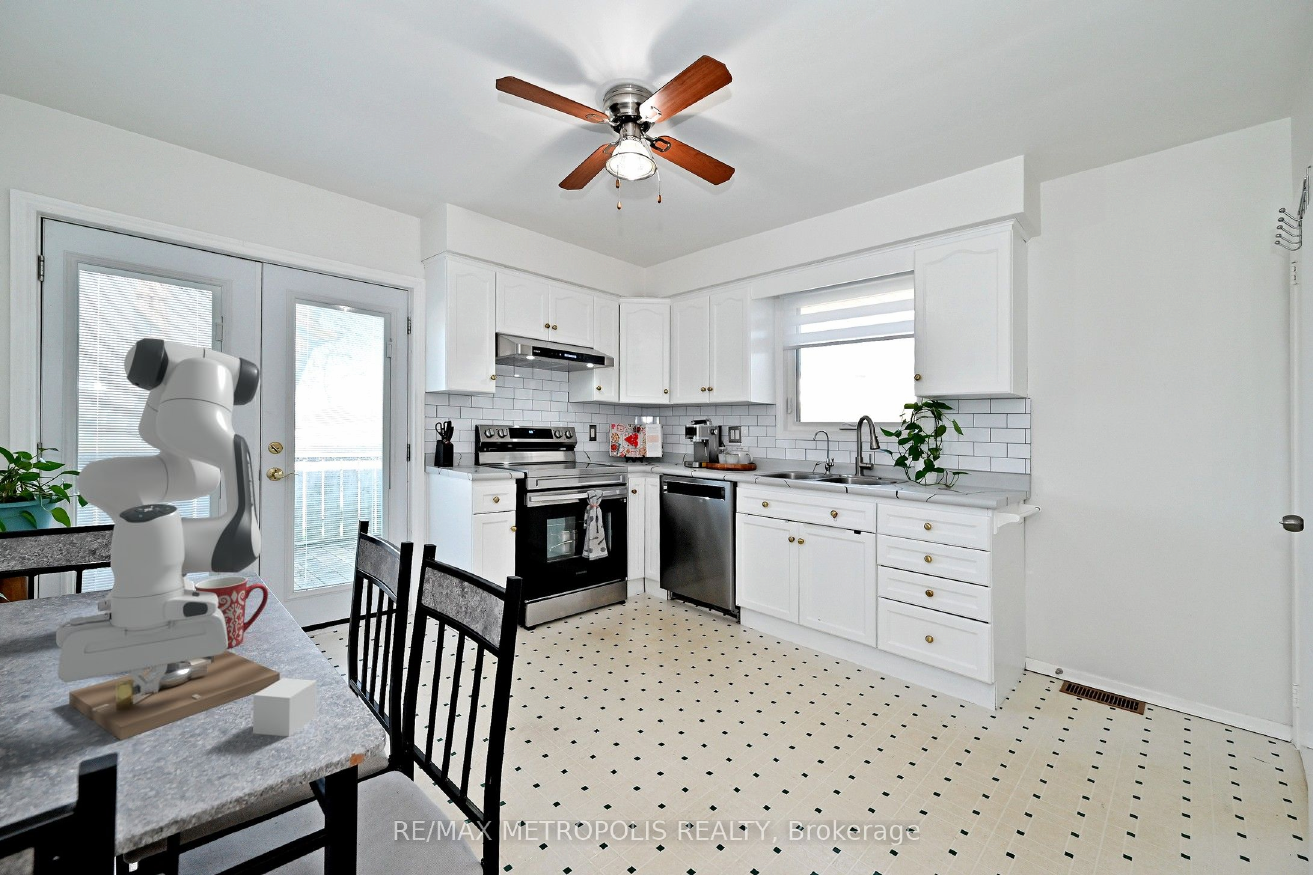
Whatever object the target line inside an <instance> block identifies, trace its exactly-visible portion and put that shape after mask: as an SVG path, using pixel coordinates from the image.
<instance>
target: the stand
mask: <svg viewBox="0 0 1313 875" xmlns="http://www.w3.org/2000/svg"><path fill="white" fill-rule="evenodd" d="M179 663H188V664H191V665H192V669H193V668H199V667H204V666H207V675H202V676H197V677H191V678H190V679H189V680H188V681H186V682H183V683H181V684H178V685H175V686H171V687H165V688H160V689H159V690H158V692H157V693H152V694H150V695H149V696H147V697H145V698H144V699H142V700H140V701H139V702H137V703H135V704H134V705H133V706H132V707H130V708H128V709H125V710H116V684H117V683H119V682H122V681H127V680H133V679H132V678H131V674H127V675H124V676H121V677H117V678H114V679H110V680H107V681H103V682H99V683H96V684H93V685H89V686H85V687H82V688H79V689H74V690H70V691H69V693H68V696H69V697H68V700H69V701H68V705H70V706H71V707H73V709H76V710H77V711H79V712H80V713H81V714H83V715H84V716H86V717H87V718H89V719H90V720H91V721H92V722H94V723H96V725H99V726H100V727H101V728H103V729H104V730H105V731H107V732H108V733H110V734H111V735H112V736H113V737H115V736H116V737H115V738H117V739H118V740H119V739H120V741H123V740H126V739H128V738H131V737H134V736H137V735H140V734H143V733H145V732H149V731H151V730H154V729H157V728H159V727H163V726H165V725H167V724H171V723H173V722H177V721H179V720H182V719H185V718H187V717H191V716H193V715H194V716H195V715H196V714H200V713H201V712H205V711H207V710H210V709H213V708H216V707H219V706H221V705H224V704H227V703H230V702H232V701H233V702H234V701H235V700H238V699H242V698H243V697H247V696H250V695H252V694H253V695H254V694H256V693H258V692H260V691H261V690H263V689H265V688H267V687H268V686H270V685H272V684H274V683H275V682H277V681H279V680H281V675H280V674H281V673H280V672H278V671H276V670H274V669H271V668H269V667H267V666H264V665H262V664H260V663H258V662H255V661H253V660H250V659H247V658H245V657H243V656H241V655H239V654H236V653H233V652H231V651H229V650H228V649H226V650H225V651H224V652H223V653H222V654H219V655H213V656H208V657H202V658H197V659H191V660H186V661H181V662H179ZM150 669H151V668H149V669H144V672H143V674H142V675H143V676H145V675H146V674H147V673H148V672H149V671H150ZM133 682H134V680H133Z"/></svg>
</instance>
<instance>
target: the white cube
mask: <svg viewBox="0 0 1313 875" xmlns="http://www.w3.org/2000/svg"><path fill="white" fill-rule="evenodd" d="M252 700H253V705H252V706H253V710H252V711H253V712H252V714H253V717H252V721H253V722H252V734H257V735H269V736H280V737H291V736H292V735H293V734H295V733H296V732H297V731H299V730H301V728H304V727H305V726H306V725H307V724H309V723H310V722H311V721H313V720H314V719H315V718H317V717H318V680H314V679H301V678H288V677H287V678H286V677H284V678H283V677H282V678H280V680H279V681H277V682H275V683H274V684H272V685H270V686H268V687H267V688H265V689H263V690H261V691H258V692H255V693H253V699H252Z"/></svg>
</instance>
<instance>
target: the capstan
mask: <svg viewBox="0 0 1313 875" xmlns="http://www.w3.org/2000/svg"><path fill="white" fill-rule="evenodd" d="M149 669H150V671H149V672H148V673H147V674H146V675H145V676H144V677H145V678H146V680H152V679H154V677H155V676H156V674H157V673H158V672H155V667H151V668H149ZM202 675H207V666H204V667H199V668H193V669H192V665H191V664H188V663H179V662H175V663H170V664H167V671H166V672H165V673H164V675H163V676H162V678H161V679H160V681H159V689H160V688H165V687H171V686H175V685H178V684H181V683H183V682H186V681H188V680H189V679H190V678H191V677H197V676H202ZM149 695H150V694H147V695H142V696H141V686H139V685H138V684H137V683H136V682H135V681H134V682H133V680H127V681H122V682H119V683H117V684H116V710H125V709H128V708H130V707H132V706H133V705H134V704H135V703H137V702H139V701H140V700H142V699H144V698H145V697H147V696H149Z"/></svg>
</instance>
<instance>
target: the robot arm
mask: <svg viewBox="0 0 1313 875" xmlns="http://www.w3.org/2000/svg"><path fill="white" fill-rule="evenodd" d="M123 367H124V372H125V374H126V379H127V381H129V383H130V384H131V385H133V386H135V387H136V388H139V389H142V390H146V391H148V392H149V393H148V396H147V398H146V401H145V405H144V408H143V411H142V413H141V417H140V420H139V424H138V425H137V426H138V427H137V429H138V434H139V437H140V438H141V440H143V441H144V442H145V443H146V444H147V445H149V446H150V447H152V448H155V449H157V450H159V452H158V454H156V455H141V456H139V455H134V456H115V457H114V456H113V457H109V458H104V459H100V460H99V459H98V460H93V461H90V462H88V463H87V464H86V465H85V466H84V467H83V468H82V469H81V470H80V472H79V474H78V476H77V480H76V488H77V492H78V493H79V495H80V496H81V497H82V499H83V500H84V501H85V502H86V503H88V504H89V505H92V506H93V507H96V509H97V508H98V509H99V510H101V511H102V512H104V513H105V514H106V515H107V516H109V518H110V519H111V521H112V522H113V523H114V526H113V529H112V530H113V532H112V538H111V545H110V570H111V572H112V575H113V578H114V580H113V585H112V588H111V590H110V591H109V592H108V594H106V595H105V600H99V601H98V602H97V611H98V612H104V613H100V614H94V615H90V616H78V617H74V618H70V620H69V621H65V622H64V623H62V624H61V625H60V626H59V627H58V628H57V629H56V630H55V631H56V632H55V642H56V643H55V644H56V645H57V646H58V647H59V648H60V649H61V650H60V655H59V660H58V669H57V677H58V679H59V680H61V681H62V682H64V683H70V682H71V683H72V682H77V681H82V680H88V679H93V678H97V677H98V678H99V677H103V676H109V675H114V674H119V673H120V674H121V673H125V672H126V673H127V672H130V675H131V678H132V679H133V680H134V681H135V682H136V683H137V684H138V685H139V686H141V696H142V695H147V694H152V693H157V692H158V690H159V681H160V679H161V678H162V676H163V675H164V673H165V672H166V671H167V664H170V663H175V662H181V661H186V660H191V659H197V658H202V657H208V656H213V655H219V654H222V653H223V652H224V651H225V650H228V649H227V647H228V639H227V629H226V623H225V619H224V615H223V613H222V611H221V610H220V609H218V597H217V595H216V594H215V593H212V592H204V591H196V589H195V583H194V581H192V580H191V579H190V578H188V577H187V575H188V574H198V573H200V574H201V573H224V574H225V573H233V574H237V573H240V572H242V571H243V570H245V569H247V568H249V566H250V565H252V564H254V563H255V561H256V560H258V558H259V557H260V554H261V550H262V544H263V543H262V534H261V530H260V528H259V522H258V515H257V504H256V494H255V484H254V483H255V482H254V471H253V465H252V457H251V452H250V451H251V450H250V448H249V447H250V446H249V445H248V443H247V440H246V439H245V437H244V436H243V435H240V434H237V433H236V431H235V430H234V427H233V423H232V420H233V412H234V411H233V410H234V406H245V405H247V404H248V403H251V402H252V401H253V399H254V398H255V397H256V395H257V394H258V392H259V390H260V387H261V374H260V369H259V368H258V366H257V364H256V363H254V362H252V361H250V360H248V359H245V358H243V357H236V356H232V355H230V354H227V353H224V352H221V351H218V350H214V349H210V348H207V347H198V346H195V345H190V344H185V343H179V342H178V343H177V342H171V341H165V339H163V338H162V339H161V338H152V337H151V338H150V337H147V338H146V337H144V338H141V339H139V340H137V341H136V342H135V344H133V346H132V347H130V349H129V350H128V351H127V353H126V355H125V358H124V362H123ZM221 471H222V473H223V475H224V487H225V501H226V512H225V513H224V514H222V515H220V516H214V517H213V516H210V517H208V516H207V517H181V513H180V510H179V508H178V507H177V506H175V505H173V504H172V505H171V504H167V503H173V502H174V503H175V502H185V501H191V500H195V499H200V498H203V497H207V496H210V495H213V493H215V491H216V490H217V489H218V487H219V485H220V482H221V480H222V479H221V478H222V474H221ZM147 668H155V672H158V673H157V674H156V676H155V677H154V679H152V680H146V678H145V677H144V676H143V675H142V674H143V672H144V671H145V669H147Z"/></svg>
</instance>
